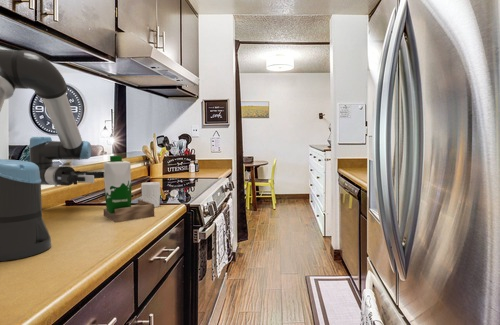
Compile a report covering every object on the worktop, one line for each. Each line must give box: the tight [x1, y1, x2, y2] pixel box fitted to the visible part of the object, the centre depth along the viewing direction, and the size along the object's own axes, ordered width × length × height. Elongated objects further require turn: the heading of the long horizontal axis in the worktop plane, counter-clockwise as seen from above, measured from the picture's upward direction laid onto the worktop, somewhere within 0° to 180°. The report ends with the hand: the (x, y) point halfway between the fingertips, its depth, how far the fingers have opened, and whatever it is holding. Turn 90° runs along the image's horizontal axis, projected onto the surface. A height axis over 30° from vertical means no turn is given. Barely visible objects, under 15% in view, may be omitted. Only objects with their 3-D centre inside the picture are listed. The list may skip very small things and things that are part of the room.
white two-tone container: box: [103, 155, 132, 214], centre depth 118 cm, size 9×9×20 cm
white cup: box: [140, 181, 161, 208], centre depth 139 cm, size 8×8×10 cm
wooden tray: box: [102, 198, 155, 223], centre depth 121 cm, size 14×14×4 cm
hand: (106, 177), depth 123 cm, fingers open, 13 cm apart
